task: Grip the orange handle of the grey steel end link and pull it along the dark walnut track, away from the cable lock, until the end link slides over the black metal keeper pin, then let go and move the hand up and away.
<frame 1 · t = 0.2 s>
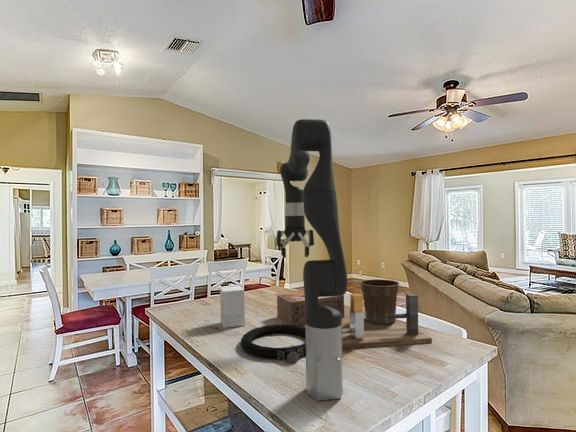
hand: (295, 257, 132), 29 cm above the table, tool pointing down, fingers open, 8 cm apart
tissue box cover: (310, 318, 153), on the table
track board: (378, 339, 124), on the table
cable lock: (281, 347, 120), on the table
supplement box: (232, 324, 145), on the table
plant pot: (379, 320, 147), on the table
end link: (351, 315, 122), point 9 cm above the table, slide at 0.0 cm
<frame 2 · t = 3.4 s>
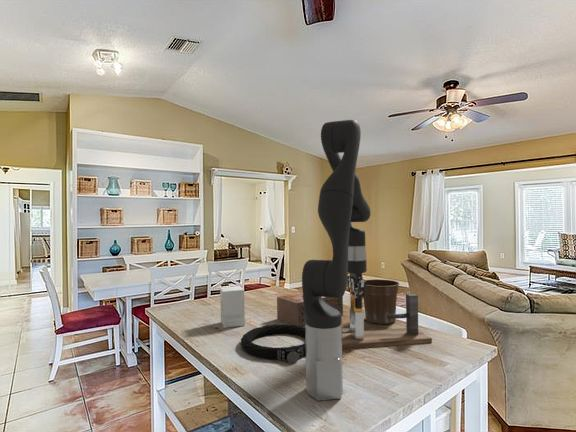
hand: (356, 306, 123), 12 cm above the table, tool pointing down, fingers closed on end link, 4 cm apart
end link: (351, 315, 122), point 9 cm above the table, slide at 0.0 cm, touching gripper
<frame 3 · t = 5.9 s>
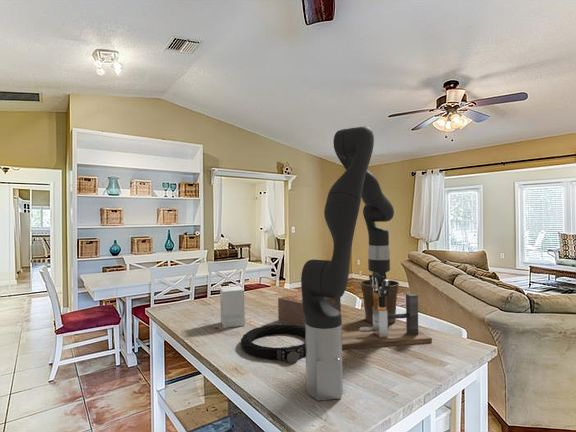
hand: (379, 305, 124), 12 cm above the table, tool pointing down, fingers closed on end link, 4 cm apart
end link: (374, 314, 124), point 9 cm above the table, slide at 8.7 cm, touching gripper
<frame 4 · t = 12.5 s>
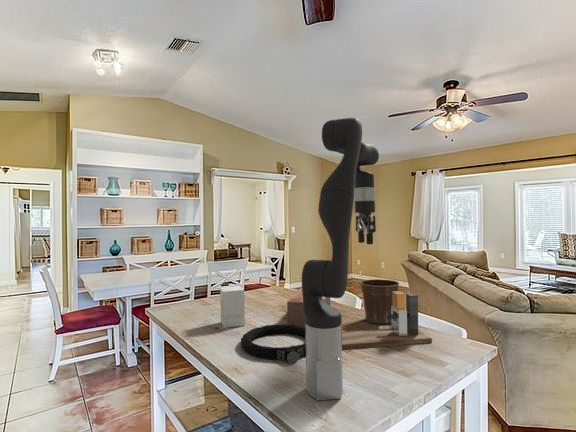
hand: (365, 243, 129), 34 cm above the table, tool pointing down, fingers open, 8 cm apart
end link: (393, 313, 125), point 9 cm above the table, slide at 15.9 cm
at the end: end link slide at 15.9 cm; the gripper is holding nothing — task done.
